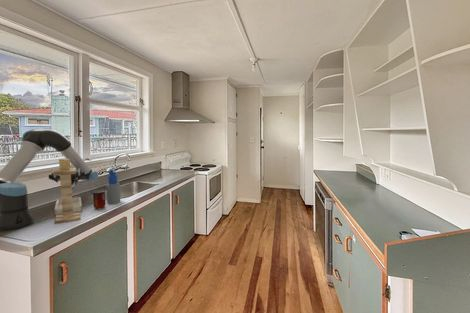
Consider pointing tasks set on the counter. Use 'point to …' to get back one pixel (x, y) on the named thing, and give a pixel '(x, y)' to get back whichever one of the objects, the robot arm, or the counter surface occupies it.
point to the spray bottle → (113, 188)
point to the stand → (66, 197)
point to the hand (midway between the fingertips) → (66, 171)
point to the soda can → (99, 199)
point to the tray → (76, 206)
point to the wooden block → (64, 164)
